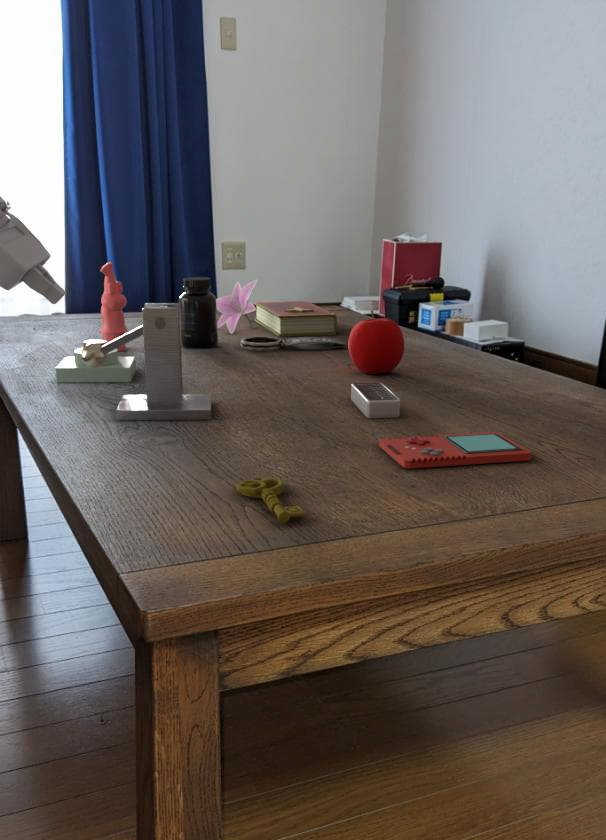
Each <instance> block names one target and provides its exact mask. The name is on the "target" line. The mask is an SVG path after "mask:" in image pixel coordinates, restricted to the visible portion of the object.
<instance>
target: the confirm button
mask: <svg viewBox="0 0 606 840" xmlns="http://www.w3.org/2000/svg"><path fill="white" fill-rule="evenodd" d="M89 343H97V344H100V345H101V346H103V345H105V344H107V341H106V340H103V339H87V340H84V341H83V342H82V344H83V347H84V346H85V345H87V344H89Z"/></svg>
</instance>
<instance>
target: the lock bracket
mask: <svg viewBox="0 0 606 840" xmlns="http://www.w3.org/2000/svg"><path fill="white" fill-rule="evenodd" d="M165 306H168V307H165ZM141 317H142V319H141V321H142V325H143V335H142V336H143V354H144V372H145V389H146V394H123V395H122V397H121V399H120V401H119V404H118V406H117V408H116V410H115V416H116V417H115V418H116V421H201V420H202V421H203V420H204V421H205V420H206V421H210V420H211V419H212V403H213V399H212V393H184V387H183V384H184V383H183V365H182V364H183V363H182V362H183V361H182V343H181V330H180V310H179V302H145V303H144V307H142V308H141Z"/></svg>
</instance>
